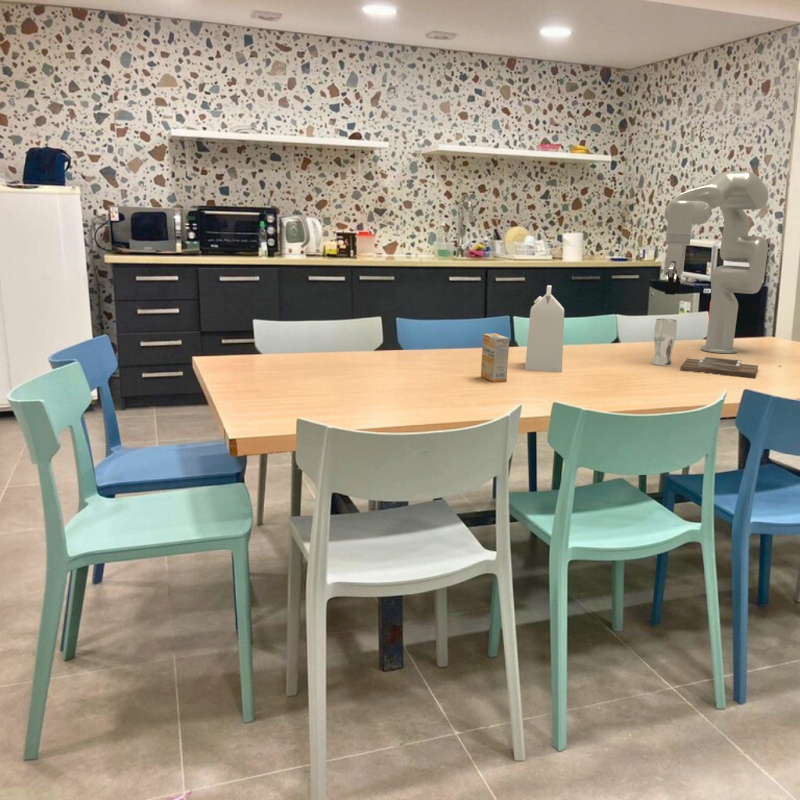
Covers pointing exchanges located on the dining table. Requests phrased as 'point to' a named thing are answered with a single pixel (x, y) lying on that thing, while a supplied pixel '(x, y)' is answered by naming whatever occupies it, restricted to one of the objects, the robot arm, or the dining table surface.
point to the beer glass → (664, 341)
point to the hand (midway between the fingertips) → (671, 293)
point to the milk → (545, 334)
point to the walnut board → (720, 367)
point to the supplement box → (495, 357)
